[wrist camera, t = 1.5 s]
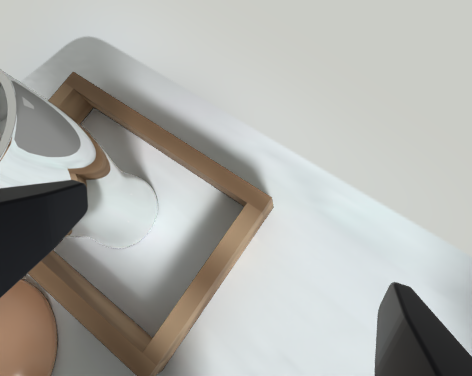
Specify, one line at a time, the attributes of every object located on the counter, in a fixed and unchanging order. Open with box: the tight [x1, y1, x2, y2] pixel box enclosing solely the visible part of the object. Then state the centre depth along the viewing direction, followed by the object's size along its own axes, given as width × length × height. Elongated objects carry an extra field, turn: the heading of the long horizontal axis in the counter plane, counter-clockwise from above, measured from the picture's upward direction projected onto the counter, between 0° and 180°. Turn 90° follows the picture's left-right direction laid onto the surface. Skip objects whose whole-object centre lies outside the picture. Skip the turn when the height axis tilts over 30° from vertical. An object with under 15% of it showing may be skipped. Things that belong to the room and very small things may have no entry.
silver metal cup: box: [0, 69, 158, 249], centre depth 19 cm, size 7×7×15 cm
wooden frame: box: [28, 72, 273, 376], centre depth 25 cm, size 14×20×3 cm
